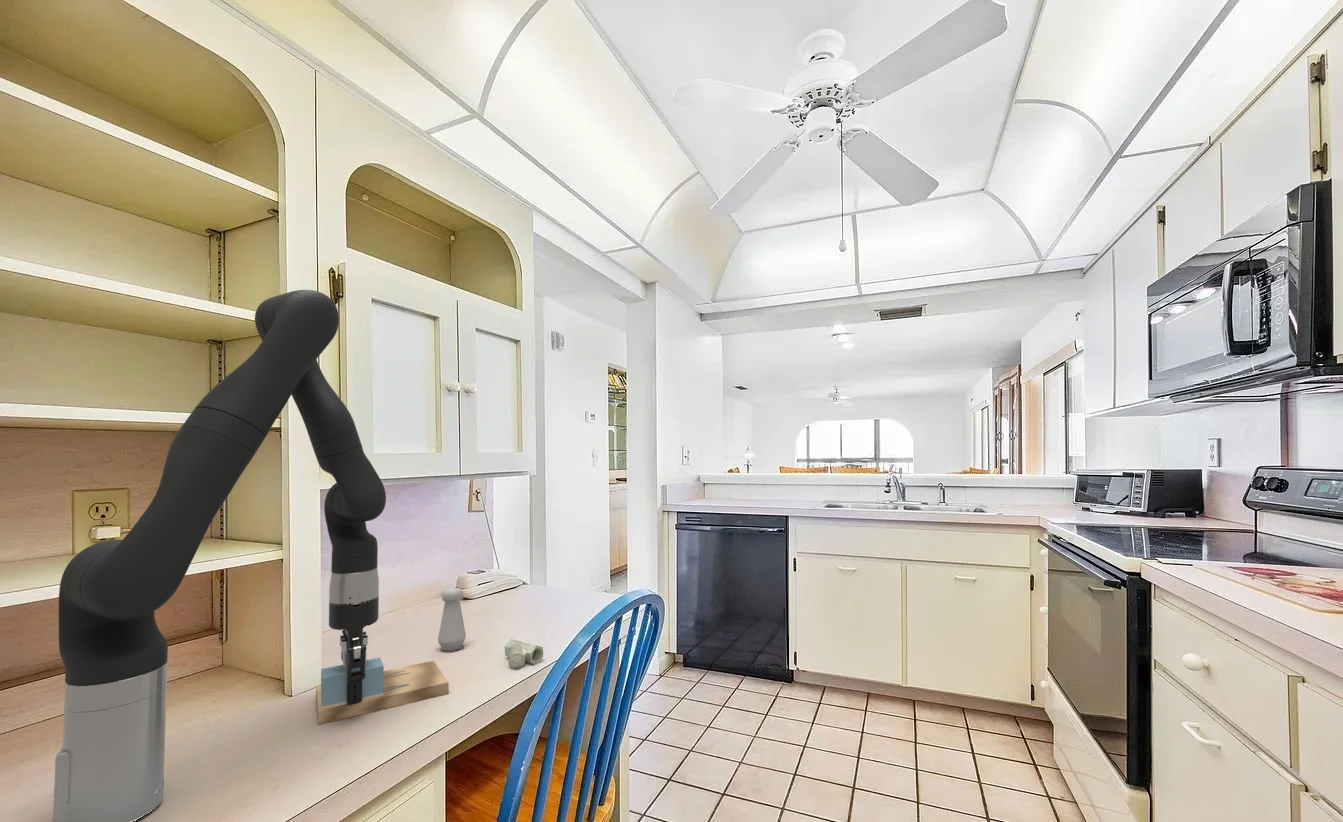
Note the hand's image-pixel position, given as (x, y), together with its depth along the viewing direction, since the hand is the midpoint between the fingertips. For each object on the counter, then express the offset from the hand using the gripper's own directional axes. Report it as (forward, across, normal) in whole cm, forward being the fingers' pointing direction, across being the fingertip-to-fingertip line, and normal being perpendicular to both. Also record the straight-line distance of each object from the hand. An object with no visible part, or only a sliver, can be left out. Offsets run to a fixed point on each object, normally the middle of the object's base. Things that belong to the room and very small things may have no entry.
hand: (352, 696), depth 99 cm
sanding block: (0, 0, 0) cm, 0 cm away
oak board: (+2, -4, +5) cm, 7 cm away
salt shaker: (+2, -22, +21) cm, 30 cm away
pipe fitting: (+2, -5, +30) cm, 31 cm away
